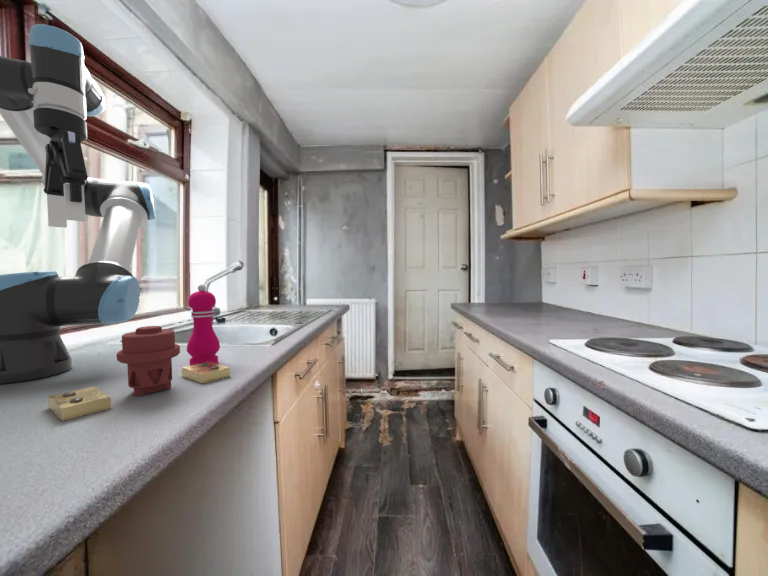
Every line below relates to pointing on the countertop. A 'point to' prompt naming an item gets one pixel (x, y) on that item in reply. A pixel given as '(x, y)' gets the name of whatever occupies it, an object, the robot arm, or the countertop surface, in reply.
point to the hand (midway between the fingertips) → (66, 224)
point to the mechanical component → (149, 358)
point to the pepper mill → (202, 328)
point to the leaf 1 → (79, 403)
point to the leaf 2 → (205, 372)
